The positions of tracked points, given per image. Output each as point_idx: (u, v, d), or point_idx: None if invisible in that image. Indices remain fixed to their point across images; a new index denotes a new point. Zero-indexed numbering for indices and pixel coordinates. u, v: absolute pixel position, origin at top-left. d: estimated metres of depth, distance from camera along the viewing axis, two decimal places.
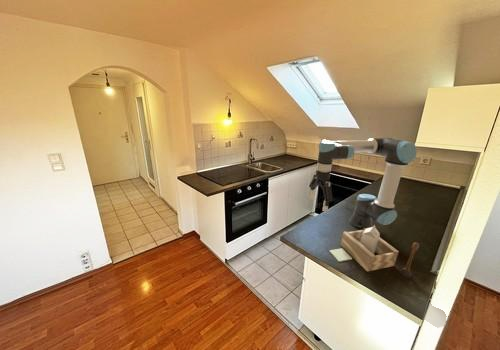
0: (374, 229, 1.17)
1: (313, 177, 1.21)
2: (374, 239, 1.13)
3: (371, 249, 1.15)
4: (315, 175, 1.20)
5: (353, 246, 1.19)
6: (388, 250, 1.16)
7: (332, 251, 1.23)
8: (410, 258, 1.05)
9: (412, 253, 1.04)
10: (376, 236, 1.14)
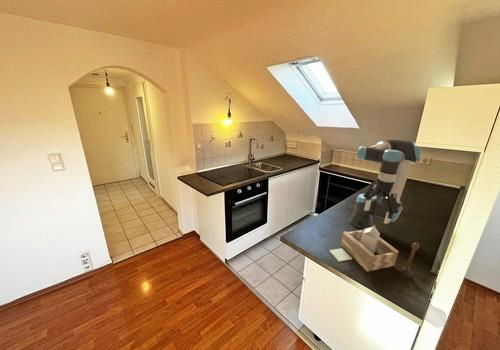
0: (374, 229, 1.17)
1: (370, 187, 1.14)
2: (374, 239, 1.13)
3: (371, 249, 1.15)
4: (373, 185, 1.13)
5: (353, 246, 1.19)
6: (388, 250, 1.16)
7: (332, 251, 1.23)
8: (410, 258, 1.05)
9: (412, 253, 1.04)
10: (376, 236, 1.14)
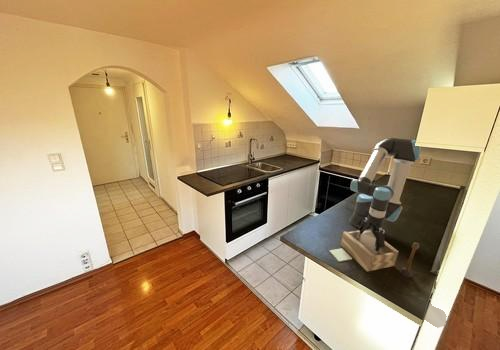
0: None
1: (362, 220, 1.21)
2: (374, 239, 1.13)
3: (371, 249, 1.15)
4: (364, 218, 1.20)
5: (353, 246, 1.19)
6: (388, 250, 1.16)
7: (332, 251, 1.23)
8: (410, 258, 1.05)
9: (412, 253, 1.04)
10: None
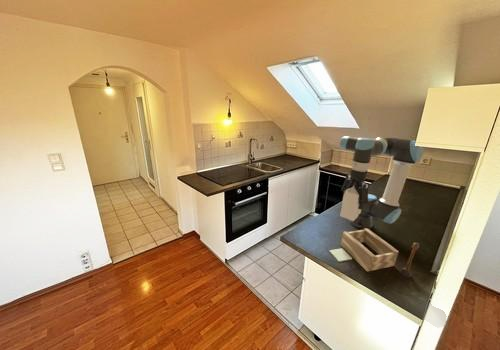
0: None
1: None
2: (357, 196, 1.03)
3: (354, 208, 1.05)
4: (348, 176, 1.10)
5: (353, 246, 1.19)
6: (388, 250, 1.16)
7: (332, 251, 1.23)
8: (410, 258, 1.05)
9: (412, 253, 1.04)
10: None
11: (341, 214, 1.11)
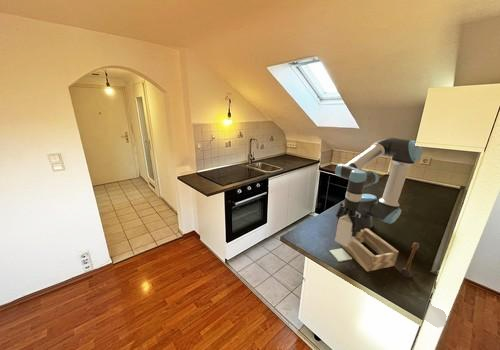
0: None
1: (340, 205, 1.17)
2: (350, 224, 1.09)
3: (348, 235, 1.11)
4: (342, 203, 1.16)
5: (353, 246, 1.19)
6: (388, 250, 1.16)
7: (332, 251, 1.23)
8: (410, 258, 1.05)
9: (412, 253, 1.04)
10: None
11: (336, 239, 1.17)
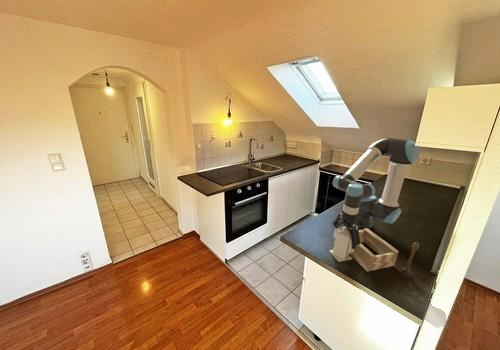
0: None
1: (338, 216, 1.19)
2: (347, 238, 1.12)
3: (345, 248, 1.14)
4: (340, 214, 1.18)
5: None
6: (388, 250, 1.16)
7: (332, 251, 1.23)
8: (410, 258, 1.05)
9: (412, 253, 1.04)
10: (349, 235, 1.13)
11: (333, 252, 1.20)
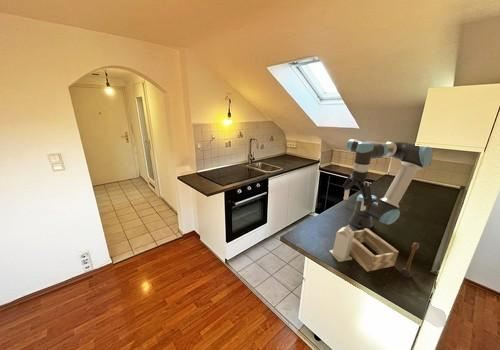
0: (348, 228, 1.15)
1: (348, 177, 1.21)
2: (347, 238, 1.12)
3: (345, 248, 1.14)
4: (350, 175, 1.20)
5: (353, 246, 1.19)
6: (388, 250, 1.16)
7: (332, 251, 1.23)
8: (410, 258, 1.05)
9: (412, 253, 1.04)
10: (349, 235, 1.13)
11: (333, 252, 1.20)
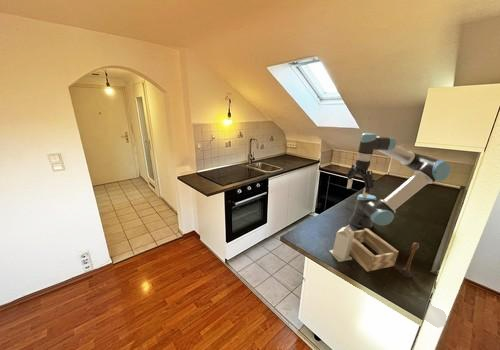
0: (348, 228, 1.15)
1: (351, 167, 1.30)
2: (347, 238, 1.12)
3: (345, 248, 1.14)
4: (353, 165, 1.29)
5: (353, 246, 1.19)
6: (388, 250, 1.16)
7: (332, 251, 1.23)
8: (410, 258, 1.05)
9: (412, 253, 1.04)
10: (349, 235, 1.13)
11: (333, 252, 1.20)
